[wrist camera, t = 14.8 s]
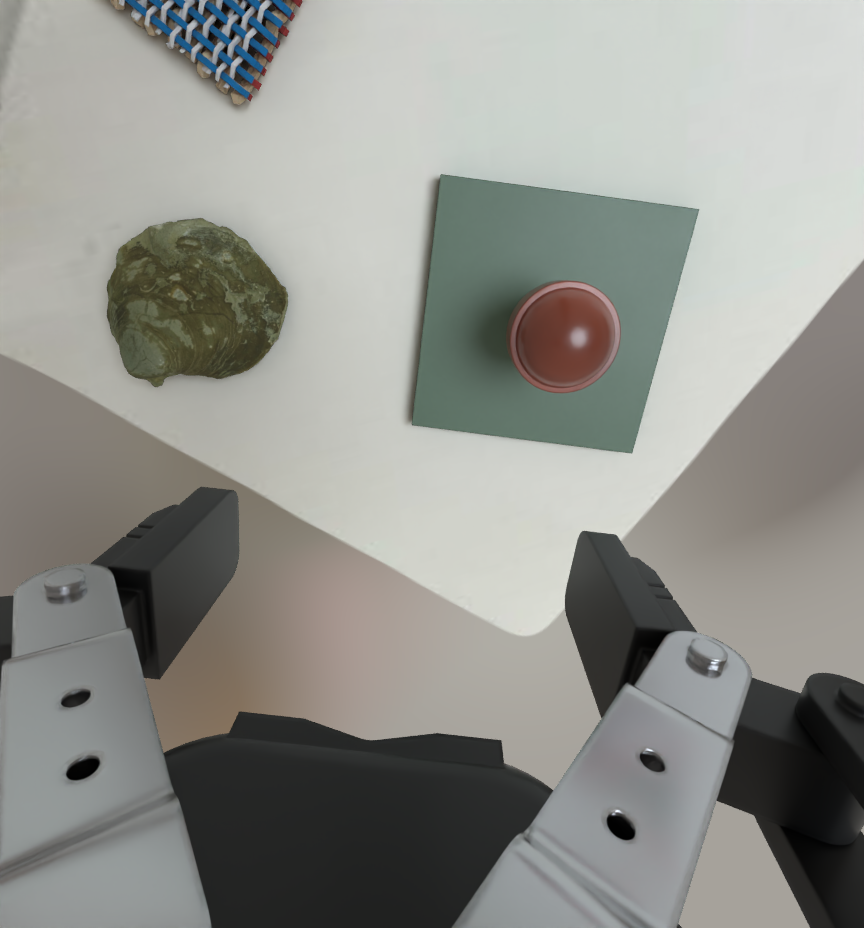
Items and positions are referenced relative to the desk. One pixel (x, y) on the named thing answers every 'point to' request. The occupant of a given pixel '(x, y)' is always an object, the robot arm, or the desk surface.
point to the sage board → (514, 275)
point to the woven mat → (218, 35)
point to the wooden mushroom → (563, 336)
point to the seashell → (192, 302)
